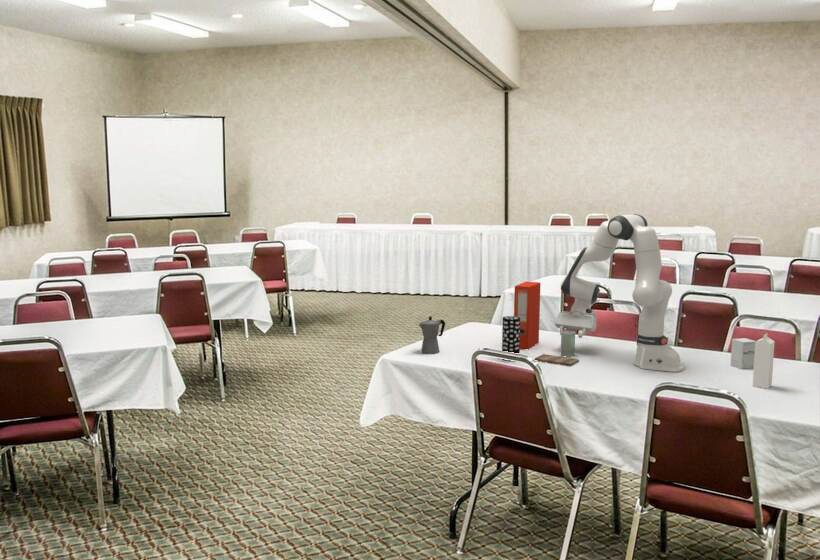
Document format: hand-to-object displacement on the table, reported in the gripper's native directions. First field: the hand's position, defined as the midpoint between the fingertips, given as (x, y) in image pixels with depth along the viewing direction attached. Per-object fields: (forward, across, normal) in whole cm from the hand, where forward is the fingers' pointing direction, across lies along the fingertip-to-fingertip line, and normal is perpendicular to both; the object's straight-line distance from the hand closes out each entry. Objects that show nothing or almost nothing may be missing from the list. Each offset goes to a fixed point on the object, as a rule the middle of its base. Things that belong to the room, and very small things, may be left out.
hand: (570, 335), depth 358 cm
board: (+18, 0, -5) cm, 19 cm away
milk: (+11, +87, +2) cm, 88 cm away
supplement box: (-9, +74, +22) cm, 78 cm away
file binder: (+4, -26, +10) cm, 28 cm away
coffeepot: (+30, -59, -17) cm, 68 cm away
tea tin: (+9, 0, +4) cm, 10 cm away
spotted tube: (+24, -20, -11) cm, 33 cm away
